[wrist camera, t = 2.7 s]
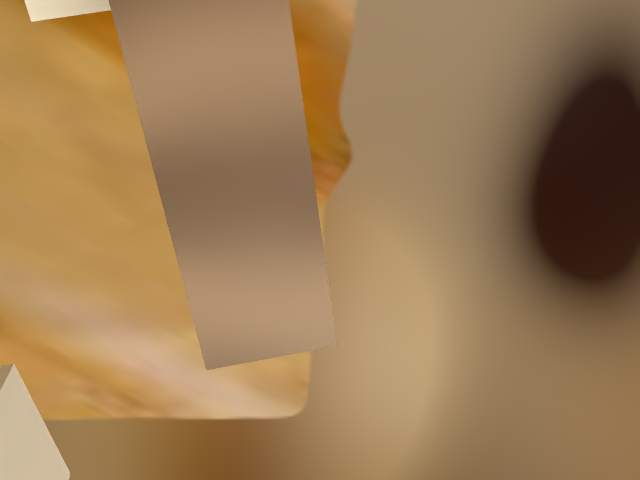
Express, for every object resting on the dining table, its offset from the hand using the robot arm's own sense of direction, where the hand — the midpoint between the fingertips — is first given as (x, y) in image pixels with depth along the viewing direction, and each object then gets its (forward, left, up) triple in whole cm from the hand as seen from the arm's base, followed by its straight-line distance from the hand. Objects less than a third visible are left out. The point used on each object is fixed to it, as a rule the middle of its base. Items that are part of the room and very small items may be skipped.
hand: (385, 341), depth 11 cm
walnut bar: (-5, +7, -10) cm, 13 cm away
